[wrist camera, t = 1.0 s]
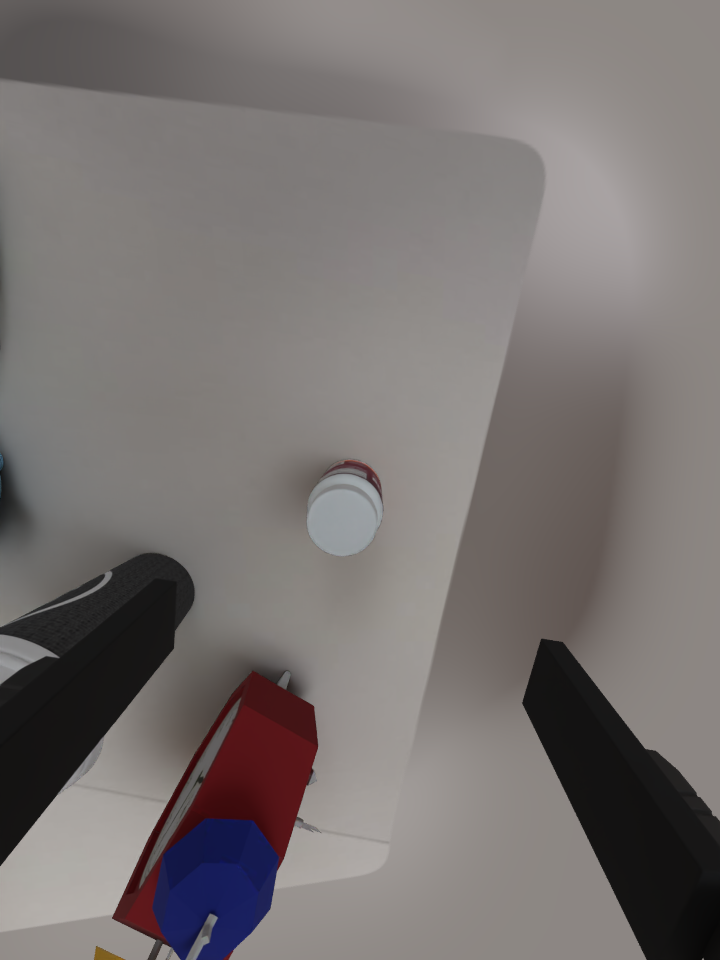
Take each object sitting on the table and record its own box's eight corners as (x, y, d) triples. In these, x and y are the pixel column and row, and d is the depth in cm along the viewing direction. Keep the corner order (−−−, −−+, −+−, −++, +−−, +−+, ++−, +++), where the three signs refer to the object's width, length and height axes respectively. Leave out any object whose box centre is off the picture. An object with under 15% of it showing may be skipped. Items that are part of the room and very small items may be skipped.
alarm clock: (271, 633, 32) (110, 1002, 13) (354, 683, 33) (324, 1102, 13) (192, 746, 35) (-35, 1184, 16) (271, 789, 36) (147, 1257, 16)
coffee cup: (130, 649, 33) (-64, 850, 18) (82, 553, 31) (-177, 692, 16) (229, 623, 32) (106, 814, 17) (186, 522, 30) (7, 641, 15)
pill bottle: (380, 518, 29) (382, 565, 21) (320, 515, 30) (299, 561, 21) (383, 459, 28) (386, 484, 20) (321, 456, 28) (299, 480, 20)
